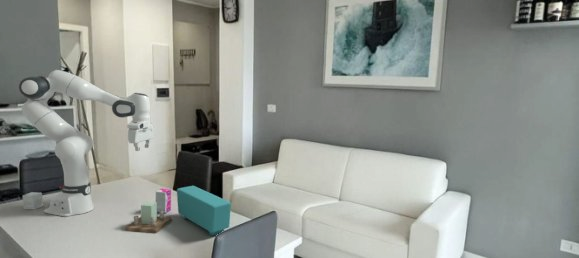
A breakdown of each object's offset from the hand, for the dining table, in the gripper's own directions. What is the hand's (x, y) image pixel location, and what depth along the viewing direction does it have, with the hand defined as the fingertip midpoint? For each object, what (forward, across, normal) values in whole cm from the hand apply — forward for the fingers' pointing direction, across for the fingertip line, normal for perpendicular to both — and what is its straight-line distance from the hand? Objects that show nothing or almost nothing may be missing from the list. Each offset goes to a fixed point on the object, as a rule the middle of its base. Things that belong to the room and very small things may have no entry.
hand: (142, 149), depth 188 cm
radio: (+32, +20, +41) cm, 56 cm away
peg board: (+31, +25, +17) cm, 43 cm away
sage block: (+30, +25, +17) cm, 42 cm away
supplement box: (+31, +7, +15) cm, 35 cm away
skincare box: (+31, +15, -53) cm, 63 cm away
